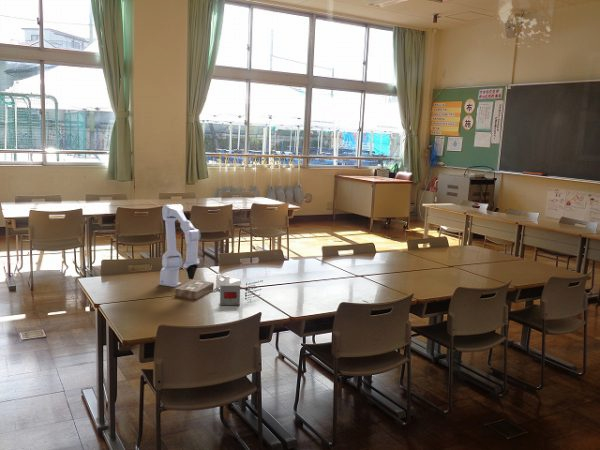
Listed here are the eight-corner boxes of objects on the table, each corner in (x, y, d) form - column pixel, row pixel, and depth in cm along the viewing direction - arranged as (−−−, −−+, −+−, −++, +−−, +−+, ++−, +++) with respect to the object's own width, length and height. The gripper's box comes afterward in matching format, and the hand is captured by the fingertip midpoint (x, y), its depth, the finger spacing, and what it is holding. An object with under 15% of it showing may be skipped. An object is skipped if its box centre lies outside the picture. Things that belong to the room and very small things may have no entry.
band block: (175, 296, 286) (175, 288, 285) (193, 286, 305) (193, 279, 304) (196, 299, 282) (196, 291, 282) (213, 289, 302) (213, 282, 301)
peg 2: (193, 290, 297) (194, 283, 296) (197, 288, 301) (197, 281, 300) (200, 291, 296) (201, 284, 295) (204, 289, 300) (204, 282, 299)
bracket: (225, 290, 302) (226, 277, 301) (215, 288, 306) (216, 274, 305) (240, 286, 313) (241, 273, 312) (230, 283, 317) (231, 270, 316)
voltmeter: (228, 309, 271) (229, 289, 270) (212, 303, 279) (213, 284, 277) (266, 299, 292) (267, 280, 290) (250, 294, 299) (251, 276, 297)
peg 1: (185, 295, 287) (185, 288, 287) (188, 293, 291) (189, 286, 291) (192, 296, 286) (192, 289, 286) (195, 294, 290) (196, 287, 290)
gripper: (192, 256, 277) (191, 283, 279) (205, 251, 291) (204, 276, 293) (179, 254, 279) (178, 281, 281) (193, 249, 293) (192, 274, 295)
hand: (191, 278), depth 287 cm, fingers closed
